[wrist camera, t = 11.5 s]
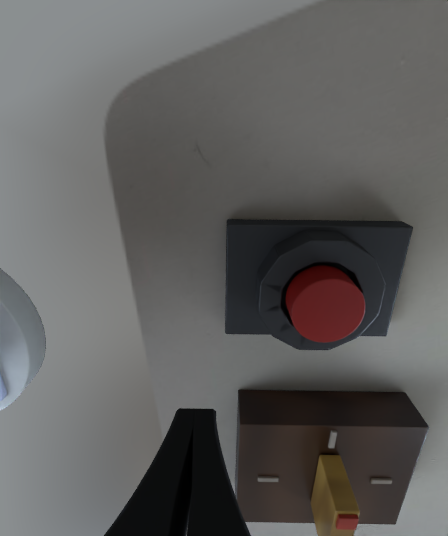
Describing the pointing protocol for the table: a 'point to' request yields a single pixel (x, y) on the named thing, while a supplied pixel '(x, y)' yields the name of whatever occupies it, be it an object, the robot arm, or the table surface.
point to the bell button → (324, 304)
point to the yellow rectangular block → (333, 499)
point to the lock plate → (324, 451)
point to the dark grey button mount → (305, 256)
